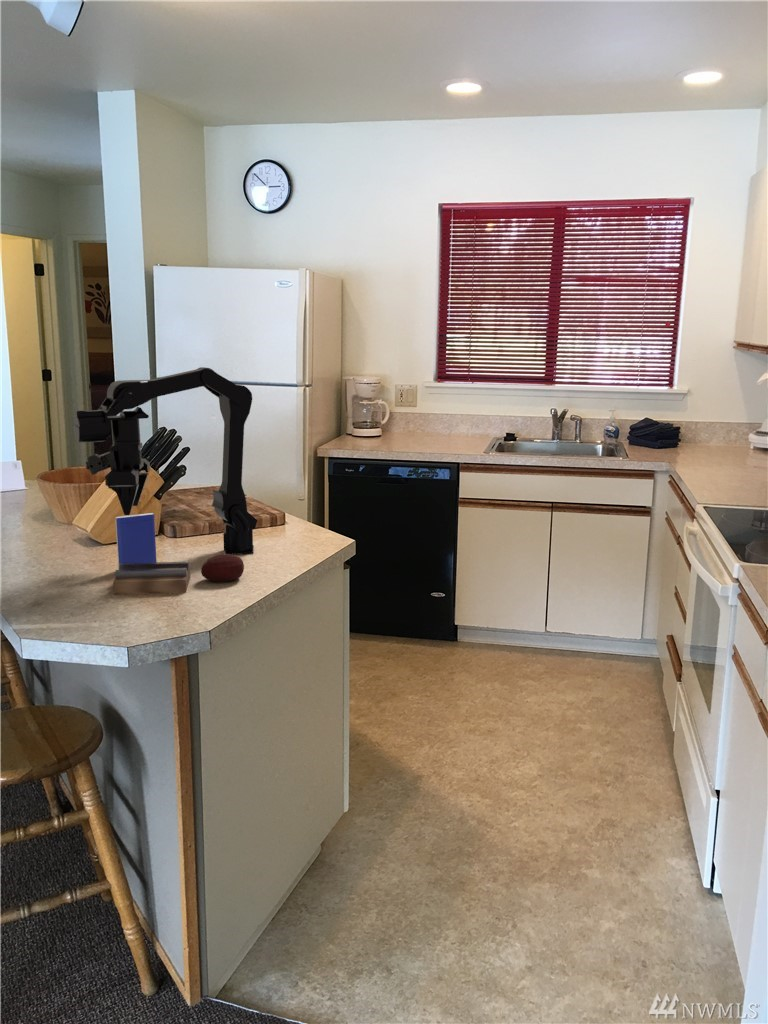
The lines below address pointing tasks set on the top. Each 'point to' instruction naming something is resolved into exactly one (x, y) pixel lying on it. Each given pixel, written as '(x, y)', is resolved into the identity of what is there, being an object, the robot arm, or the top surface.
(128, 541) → the hard drive
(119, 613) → the top surface
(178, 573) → the drive stand
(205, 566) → the potato
